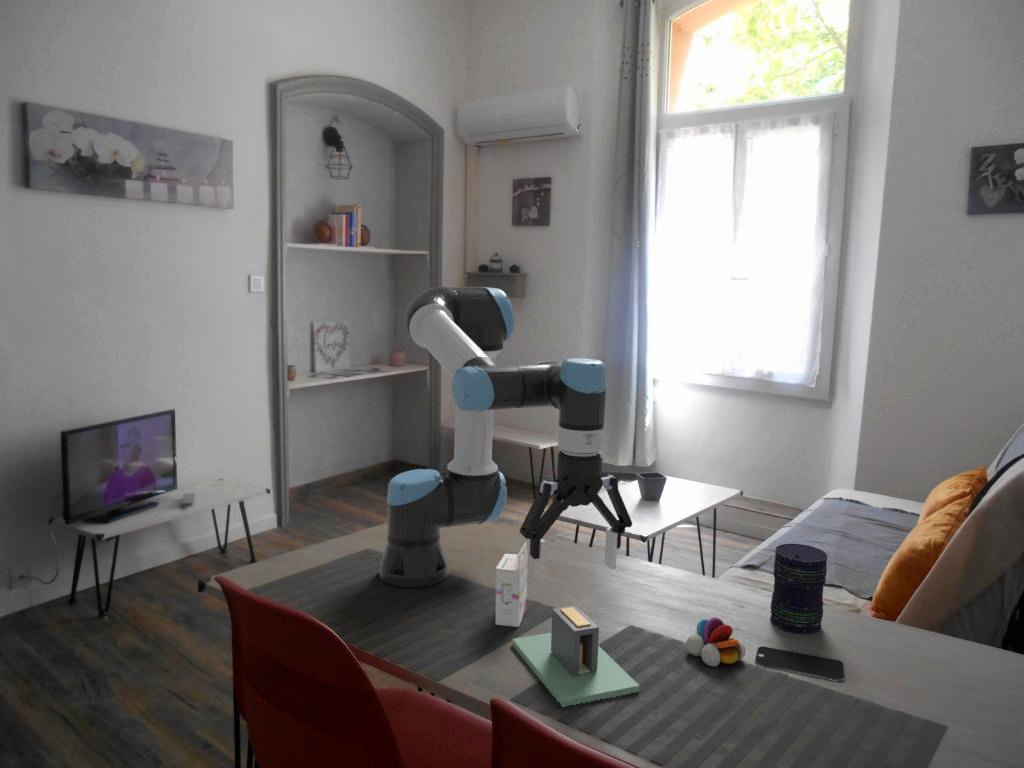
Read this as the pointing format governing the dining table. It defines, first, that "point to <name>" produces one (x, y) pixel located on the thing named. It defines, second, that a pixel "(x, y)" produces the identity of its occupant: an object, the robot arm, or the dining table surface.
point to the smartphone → (800, 663)
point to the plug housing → (574, 638)
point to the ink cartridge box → (511, 588)
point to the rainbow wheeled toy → (715, 643)
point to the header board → (578, 687)
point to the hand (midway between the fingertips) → (575, 571)
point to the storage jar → (798, 588)
